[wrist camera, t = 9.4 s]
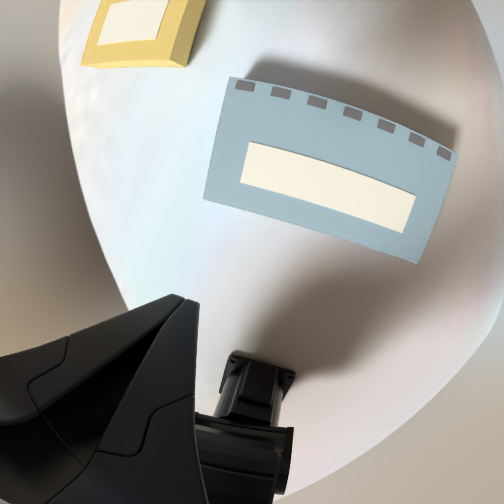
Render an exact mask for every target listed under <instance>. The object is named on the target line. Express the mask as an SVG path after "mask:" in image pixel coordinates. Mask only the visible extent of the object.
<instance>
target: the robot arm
mask: <svg viewBox="0 0 504 504" xmlns="http://www.w3.org/2000/svg"><path fill="white" fill-rule="evenodd" d="M199 310H200V304H199V303H198V302H196V301H193V300H190V299H186V300H185V298H184V297H181V296H178V295H175V294H169V295H167V296H165V297H162V298H160V299H157V300H155V301H152V302H150V303H147V304H145V305H142V306H140V307H138V308H135V309H133V310H130V311H128V312H125V313H123V314H120V315H118V316H115V317H113V318H110V319H108V320H105V321H103V322H100V323H98V324H95V325H93V326H90V327H88V328H85V329H83V330H80V331H78V332H75V333H73V334H70V335H69V336H65V337H62V338H60V339H57V340H55V341H52V342H49V343H47V344H44V345H41V346H38V347H35V348H31V349H28V350H25V351H21V352H18V353H14V354H10V355H6V356H3V357H0V504H272V502H273V497H274V494H281V495H284V493H285V489H286V485H287V481H288V475H289V470H290V463H291V453H292V443H293V432H294V427H287V428H285V427H278V421H279V415H280V409H281V402H282V400H283V398H284V397H285V395H286V393H287V392H288V390H289V388H290V387H291V385H292V383H293V381H294V380H295V376H296V373H295V372H294V371H290V370H286V369H282V368H279V367H275V366H271V365H267V364H264V363H260V362H257V361H253V360H250V359H246V358H243V357H240V356H236V355H230V356H229V357H228V360H227V363H226V367H225V371H224V374H223V378H222V382H221V386H220V389H219V393H220V394H221V396H220V399H219V401H218V404H217V407H216V410H215V413H214V415H213V416H208V415H204V414H199V412H195V377H196V356H197V339H198V323H199ZM289 375H290V376H289Z"/></svg>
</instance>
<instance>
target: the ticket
mask: <svg viewBox="0 0 504 504" xmlns="http://www.w3.org/2000/svg"><path fill="white" fill-rule="evenodd" d="M457 156H458V154H457V153H455V152H453V151H452V150H450V149H448V148H446V147H444V146H443V145H441V144H439V143H437V142H435V141H433V140H431V139H429V138H427V137H425V136H423V135H421V134H419V133H417V132H415V131H413V130H411V129H408V128H406V127H404V126H402V125H400V124H397V123H395V122H393V121H390V120H388V119H385V118H383V117H380V116H378V115H375V114H373V113H370V112H368V111H365V110H362V109H359V108H357V107H354V106H351V105H348V104H345V103H342V102H339V101H336V100H332V99H329V98H326V97H322V96H319V95H315V94H312V93H308V92H304V91H300V90H296V89H292V88H288V87H284V86H279V85H275V84H270V83H265V82H260V81H254V80H248V79H242V78H236V77H229V81H228V85H227V89H226V93H225V97H224V101H223V105H222V109H221V114H220V118H219V122H218V127H217V131H216V136H215V141H214V145H213V150H212V155H211V160H210V165H209V170H208V175H207V180H206V186H205V191H204V196H203V199H204V200H208V201H212V202H216V203H220V204H223V205H227V206H231V207H234V208H238V209H242V210H245V211H249V212H253V213H256V214H260V215H263V216H267V217H270V218H274V219H277V220H281V221H284V222H288V223H291V224H294V225H298V226H301V227H304V228H308V229H311V230H314V231H318V232H321V233H324V234H327V235H330V236H334V237H337V238H340V239H343V240H346V241H349V242H353V243H356V244H359V245H362V246H365V247H368V248H371V249H374V250H377V251H380V252H383V253H386V254H389V255H392V256H395V257H398V258H401V259H403V260H406V261H409V262H412V263H415V264H418V262H419V260H420V258H421V256H422V253H423V251H424V249H425V247H426V244H427V242H428V240H429V237H430V235H431V232H432V230H433V228H434V225H435V223H436V220H437V217H438V215H439V212H440V209H441V207H442V204H443V201H444V198H445V195H446V192H447V189H448V186H449V183H450V180H451V177H452V173H453V170H454V167H455V163H456V159H457Z"/></svg>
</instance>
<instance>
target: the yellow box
mask: <svg viewBox="0 0 504 504" xmlns="http://www.w3.org/2000/svg"><path fill="white" fill-rule="evenodd" d="M206 1H207V0H101V3H100V5H99V8H98V10H97V13H96V16H95V18H94V21H93V24H92V27H91V30H90V33H89V36H88V39H87V43H86V46H85V50H84V53H83V57H82V61H81V66H88V67H94V68H99V69H104V68H118V67H185V68H186V65H187V61H188V58H189V54H190V51H191V47H192V44H193V40H194V37H195V34H196V30H197V27H198V24H199V21H200V18H201V15H202V12H203V9H204V6H205V4H206Z"/></svg>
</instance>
